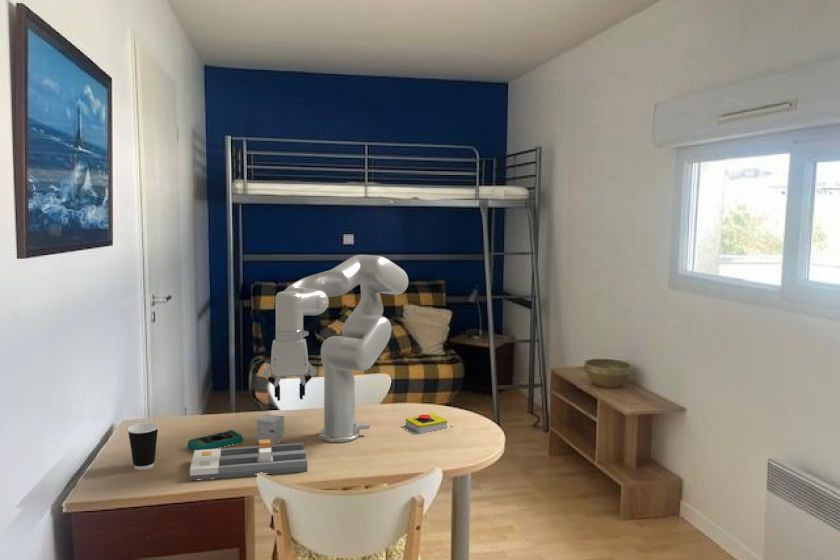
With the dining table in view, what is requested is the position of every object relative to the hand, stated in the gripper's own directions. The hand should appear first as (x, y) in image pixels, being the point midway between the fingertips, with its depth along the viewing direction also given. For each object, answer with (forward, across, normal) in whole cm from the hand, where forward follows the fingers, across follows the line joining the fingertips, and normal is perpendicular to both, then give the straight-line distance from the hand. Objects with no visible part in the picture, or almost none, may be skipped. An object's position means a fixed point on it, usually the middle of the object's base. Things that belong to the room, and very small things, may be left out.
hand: (289, 398), depth 180 cm
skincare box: (+18, +5, -16) cm, 24 cm away
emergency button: (+18, -45, -18) cm, 52 cm away
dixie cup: (+18, +39, -2) cm, 43 cm away
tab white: (+16, +7, +7) cm, 19 cm away
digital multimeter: (+18, +21, -15) cm, 32 cm away
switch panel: (+18, +11, +4) cm, 21 cm away
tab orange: (+16, +7, 0) cm, 17 cm away
